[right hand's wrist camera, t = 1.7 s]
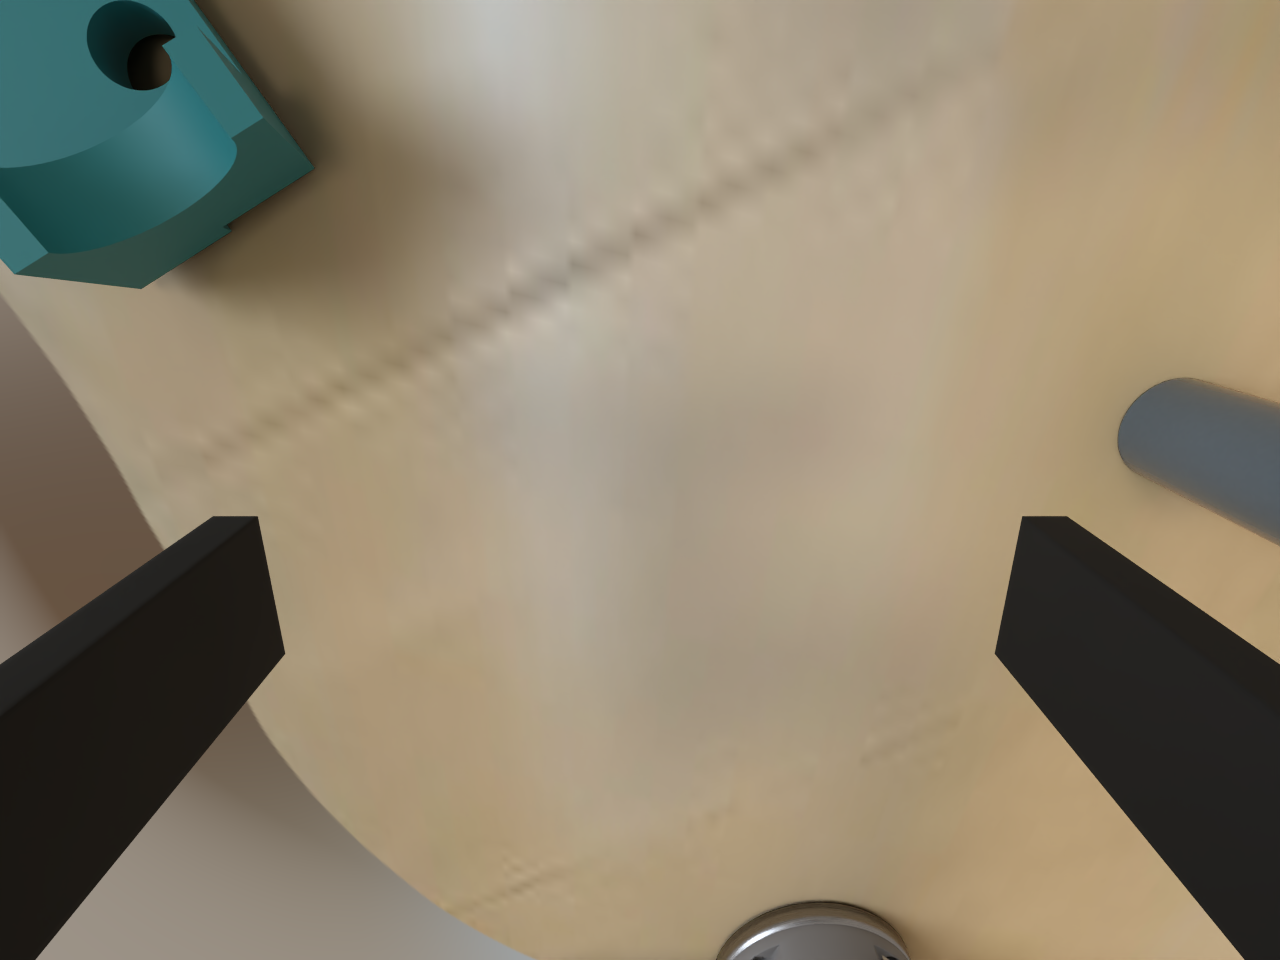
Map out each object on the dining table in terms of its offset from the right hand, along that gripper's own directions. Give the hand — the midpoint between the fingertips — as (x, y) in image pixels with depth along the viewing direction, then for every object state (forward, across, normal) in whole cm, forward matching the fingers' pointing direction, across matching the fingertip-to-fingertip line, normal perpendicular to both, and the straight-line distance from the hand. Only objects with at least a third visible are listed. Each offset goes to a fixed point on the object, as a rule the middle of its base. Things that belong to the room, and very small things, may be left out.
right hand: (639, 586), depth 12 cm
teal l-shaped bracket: (+28, +25, -14) cm, 40 cm away
